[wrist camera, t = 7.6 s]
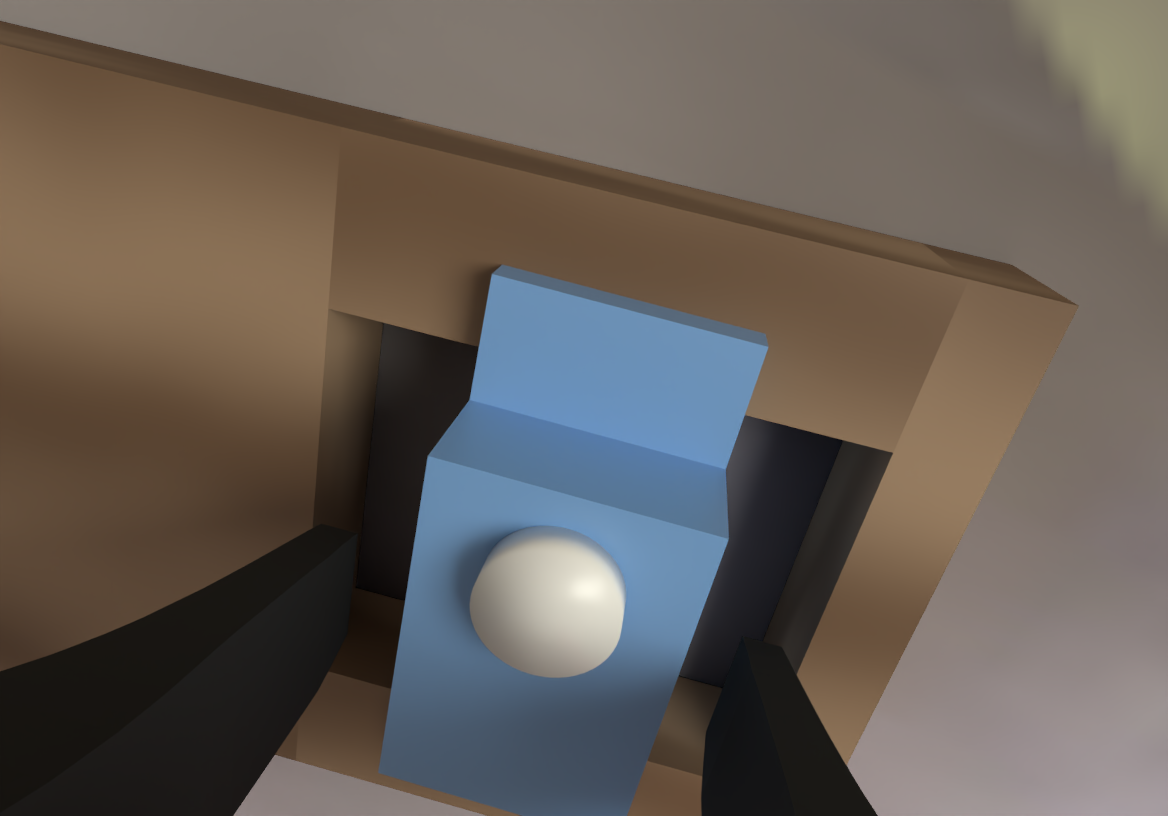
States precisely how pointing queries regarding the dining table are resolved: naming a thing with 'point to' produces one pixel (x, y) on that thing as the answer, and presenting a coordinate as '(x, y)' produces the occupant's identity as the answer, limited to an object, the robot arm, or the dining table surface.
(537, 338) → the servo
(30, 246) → the plate
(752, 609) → the dining table surface
